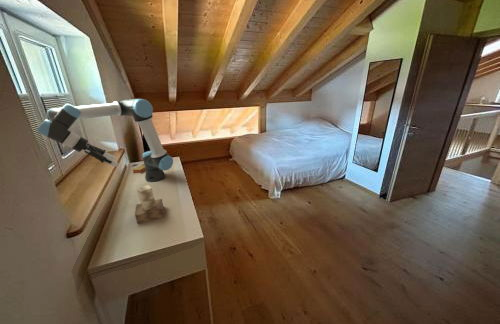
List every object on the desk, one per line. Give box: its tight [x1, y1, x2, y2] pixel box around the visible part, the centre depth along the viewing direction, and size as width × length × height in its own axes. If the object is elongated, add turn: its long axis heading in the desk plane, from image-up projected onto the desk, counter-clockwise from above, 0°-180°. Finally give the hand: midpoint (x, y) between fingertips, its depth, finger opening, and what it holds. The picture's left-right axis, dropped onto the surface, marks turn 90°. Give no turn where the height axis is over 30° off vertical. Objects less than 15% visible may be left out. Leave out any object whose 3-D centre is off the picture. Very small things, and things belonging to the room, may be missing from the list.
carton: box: [132, 163, 146, 174], centre depth 192 cm, size 8×16×4 cm, turn 167°
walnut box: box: [134, 198, 165, 224], centre depth 123 cm, size 14×12×6 cm
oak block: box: [136, 184, 156, 211], centre depth 120 cm, size 6×6×12 cm
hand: (116, 162), depth 125 cm, fingers open, 13 cm apart
